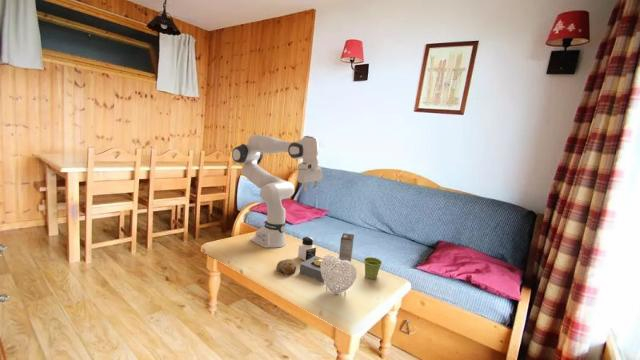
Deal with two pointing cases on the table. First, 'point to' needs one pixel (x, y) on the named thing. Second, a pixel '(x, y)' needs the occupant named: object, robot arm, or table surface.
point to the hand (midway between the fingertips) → (310, 189)
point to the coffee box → (346, 247)
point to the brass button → (317, 261)
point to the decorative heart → (337, 274)
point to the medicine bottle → (306, 249)
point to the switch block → (312, 269)
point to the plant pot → (372, 267)
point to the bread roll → (286, 267)
